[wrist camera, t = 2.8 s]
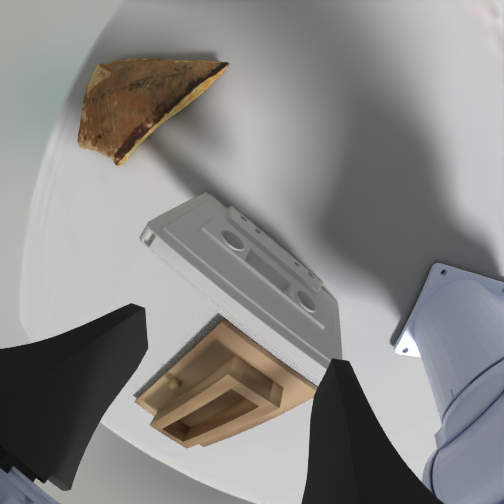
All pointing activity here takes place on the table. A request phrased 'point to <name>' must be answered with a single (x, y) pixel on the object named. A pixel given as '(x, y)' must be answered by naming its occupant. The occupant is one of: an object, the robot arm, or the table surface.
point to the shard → (138, 100)
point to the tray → (222, 389)
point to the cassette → (249, 279)
